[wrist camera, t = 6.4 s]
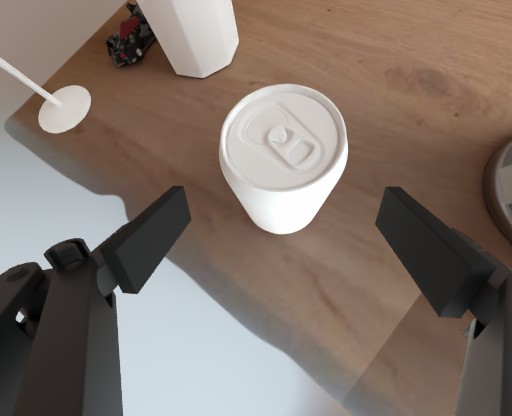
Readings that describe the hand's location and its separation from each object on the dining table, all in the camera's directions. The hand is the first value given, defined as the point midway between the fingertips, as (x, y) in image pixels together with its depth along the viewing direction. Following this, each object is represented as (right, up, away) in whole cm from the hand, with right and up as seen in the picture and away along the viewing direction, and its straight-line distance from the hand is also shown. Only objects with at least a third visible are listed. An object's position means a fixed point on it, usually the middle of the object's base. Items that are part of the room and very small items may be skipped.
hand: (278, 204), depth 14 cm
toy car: (-20, +26, +19) cm, 38 cm away
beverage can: (+1, +1, +9) cm, 10 cm away
